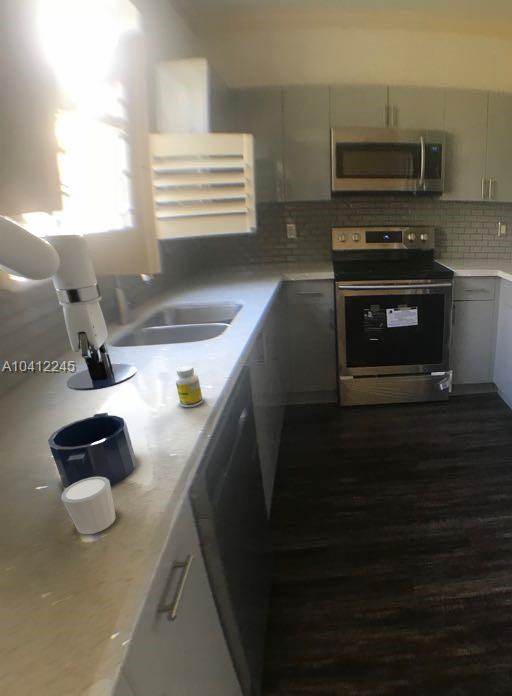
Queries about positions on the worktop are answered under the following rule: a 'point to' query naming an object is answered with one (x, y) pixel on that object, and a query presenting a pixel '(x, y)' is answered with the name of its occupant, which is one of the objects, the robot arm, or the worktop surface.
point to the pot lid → (115, 377)
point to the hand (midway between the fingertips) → (102, 374)
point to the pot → (93, 450)
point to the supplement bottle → (188, 387)
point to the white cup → (90, 504)
